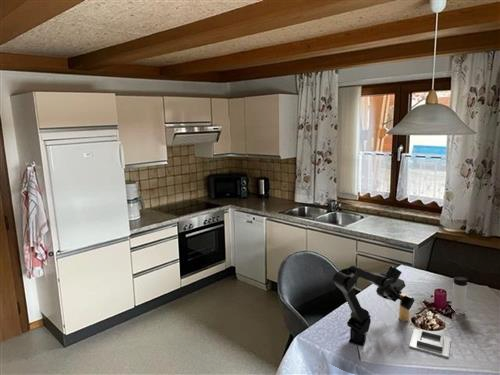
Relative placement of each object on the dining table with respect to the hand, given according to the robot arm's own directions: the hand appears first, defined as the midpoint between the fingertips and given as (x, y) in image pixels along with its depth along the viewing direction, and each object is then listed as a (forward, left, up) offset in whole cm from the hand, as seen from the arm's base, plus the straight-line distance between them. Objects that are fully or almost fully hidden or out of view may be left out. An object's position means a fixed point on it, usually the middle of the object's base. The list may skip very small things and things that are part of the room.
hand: (402, 303), depth 189 cm
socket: (+15, -14, -9) cm, 23 cm away
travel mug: (+25, +22, -10) cm, 35 cm away
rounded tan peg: (+1, +2, -9) cm, 10 cm away
